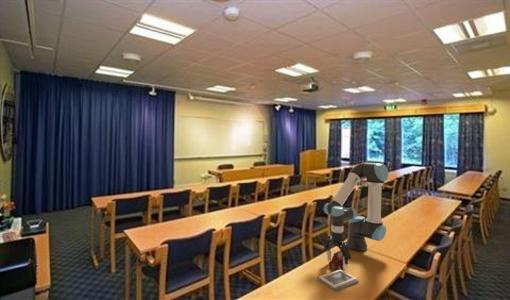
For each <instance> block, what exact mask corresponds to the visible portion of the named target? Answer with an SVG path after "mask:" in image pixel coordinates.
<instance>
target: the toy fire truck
mask: <svg viewBox="0 0 510 300" xmlns="http://www.w3.org/2000/svg"><path fill="white" fill-rule="evenodd" d="M343 259H344V256H343V254H342V252H341V250H340V249H339V250H338V251H337V252H334V253H333V256H331V260H329V261H328V267H329V268H331V269H335V271H337V270H340V269H341V270H342V269H343Z"/></svg>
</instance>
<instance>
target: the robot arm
mask: <svg viewBox="0 0 510 300" xmlns="http://www.w3.org/2000/svg"><path fill="white" fill-rule="evenodd" d="M388 178H389V170H388V168H387V166H386V165H385V164H383V163H378V162H377V163H375V162H360V163H358V164H356V165H355V166H353V168H351V170H350V171H349V172H348V175H347V178H346V179H345V181H344V182H343V183H342V185H341V187H340V188H339V190H338V191H337V193H336V194H335V196H334V197H333V199H332V200H331V201H330V202H326V203H325V204H324V206H323V212H324V213H325V214H327V215H329V216H331V227H330V229H331V230H330V231H331V234H330V235H328V237H327V240H326V243H325V245H324V246H323V247H324V249H325V250H326V255H327V257H326V260H327V262H330V261H331V260H332V250H331V249H332V248H333V247H334V246H335V247H337V248H338V249H339V251H340V250H341V252H342V254H343V268H342V269H343V270H347V269H348V265H349V260H350V259H352V256H351V253H350V251H349V250H351V251H355V252H365V251H367V250H368V244H367V241H366V238H367V239H370V240H372V241H376V242H380V241H382V240H383V239H384V238H385V236H386V234H387V227H386V225H384V224H383V223H384V222H383V220H382V218H381V215H382V214H381V213H382V192H383V191H382V187H383V185H384V184H385V182H386V181H387V180H388ZM363 179H366V181H365V182H366V183H367V184H368V187H367V191H368V193H367V195H368V196H367V217H366V218H365V216H361V215H360V216H359V215H358V212H357V210H356V209H355V207H345V206H343V205H344V203H345V202H346V201H347V200H348V197H349V196H350V195H351V193H352V192H353V190H354V189H355V187H356V185H357V184H358V183H359V182H361V181H362V180H363ZM346 221H348V236H347V239H346V241H343V239H344V237H345V236H344V235H345V234H344V232H345V230H344V229H345V228H344V226H345V224H344V223H345V222H346Z"/></svg>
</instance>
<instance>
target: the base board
mask: <svg viewBox="0 0 510 300" xmlns="http://www.w3.org/2000/svg"><path fill="white" fill-rule="evenodd" d="M317 280H318V282H319V281H320V283H322V284H324V285H325V286H327V287H328V288H330V289H331V290H333V291H335V292H337V291H340V290H342V289H344V288H345V289H346V288H348V287H351V286H353V285H355V284H359V280H358V279H357V278H356V277H355V276H353V275H351V274H350V273H348V272H346V271H344V270H342V268H341V269H340V270H335V271H332V272H329V273H326V274H321V275H320V276H318V277H317Z"/></svg>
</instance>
